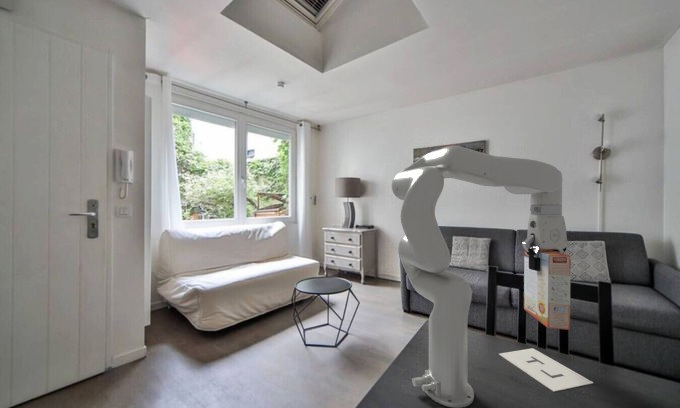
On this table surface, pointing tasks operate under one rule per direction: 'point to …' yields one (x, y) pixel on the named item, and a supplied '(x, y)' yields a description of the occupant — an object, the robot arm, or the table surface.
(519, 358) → the tile
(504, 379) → the table surface
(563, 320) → the cracker box
